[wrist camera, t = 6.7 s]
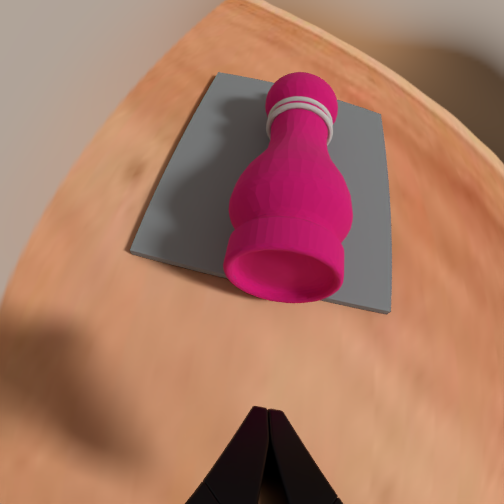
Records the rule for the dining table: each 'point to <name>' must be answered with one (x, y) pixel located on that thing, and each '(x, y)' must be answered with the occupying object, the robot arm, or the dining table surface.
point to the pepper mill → (291, 201)
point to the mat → (233, 165)
